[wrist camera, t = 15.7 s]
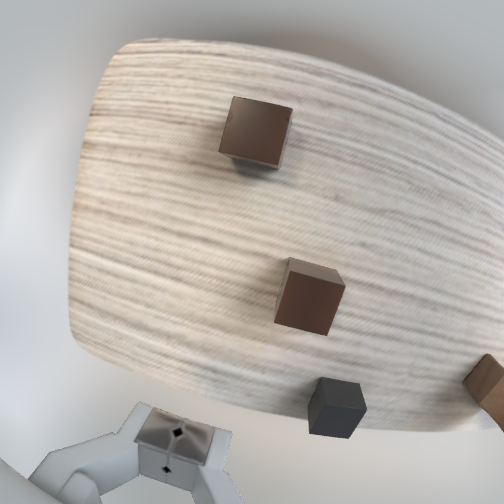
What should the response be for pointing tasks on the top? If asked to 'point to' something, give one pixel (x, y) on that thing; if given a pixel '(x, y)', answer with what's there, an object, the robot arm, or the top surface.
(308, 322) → the middle cube
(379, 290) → the top surface
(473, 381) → the wooden block
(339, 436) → the cube
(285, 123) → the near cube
